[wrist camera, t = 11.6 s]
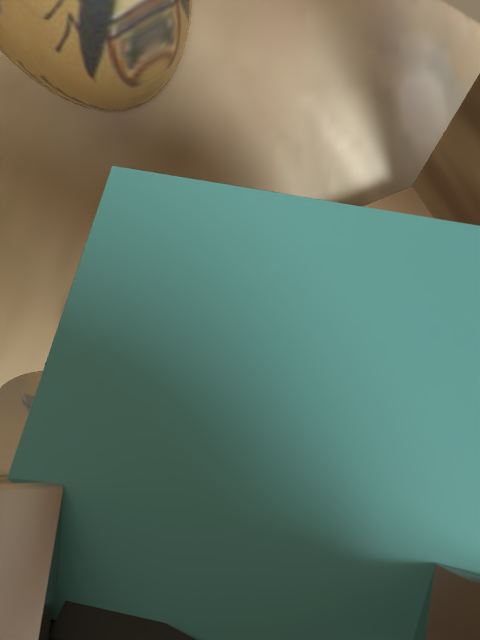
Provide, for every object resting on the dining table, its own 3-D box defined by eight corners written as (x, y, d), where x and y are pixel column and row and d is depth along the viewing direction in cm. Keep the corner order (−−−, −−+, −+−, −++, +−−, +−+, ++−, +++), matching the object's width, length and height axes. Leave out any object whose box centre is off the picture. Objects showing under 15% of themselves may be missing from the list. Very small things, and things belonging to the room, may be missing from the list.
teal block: (155, 512, 14) (-33, 598, 4) (192, 354, 15) (111, 165, 6) (319, 547, 14) (501, 723, 4) (339, 383, 15) (506, 229, 6)
